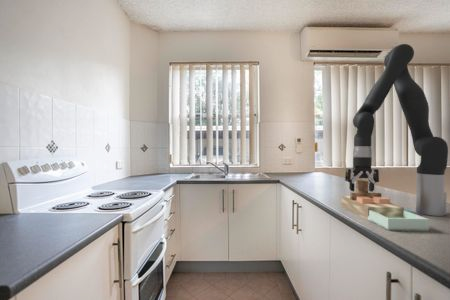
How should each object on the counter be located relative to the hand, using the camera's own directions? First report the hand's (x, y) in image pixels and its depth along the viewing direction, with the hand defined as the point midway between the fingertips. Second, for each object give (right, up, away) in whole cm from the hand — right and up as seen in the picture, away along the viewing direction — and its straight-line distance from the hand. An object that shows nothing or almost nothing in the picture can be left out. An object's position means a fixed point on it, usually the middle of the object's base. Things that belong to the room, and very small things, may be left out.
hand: (361, 191), depth 112 cm
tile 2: (+3, -3, -9) cm, 10 cm away
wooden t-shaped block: (0, -3, -1) cm, 3 cm away
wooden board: (0, -8, -6) cm, 10 cm away
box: (0, -9, -23) cm, 25 cm away
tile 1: (-4, -3, -9) cm, 10 cm away
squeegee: (+15, -9, +4) cm, 18 cm away
